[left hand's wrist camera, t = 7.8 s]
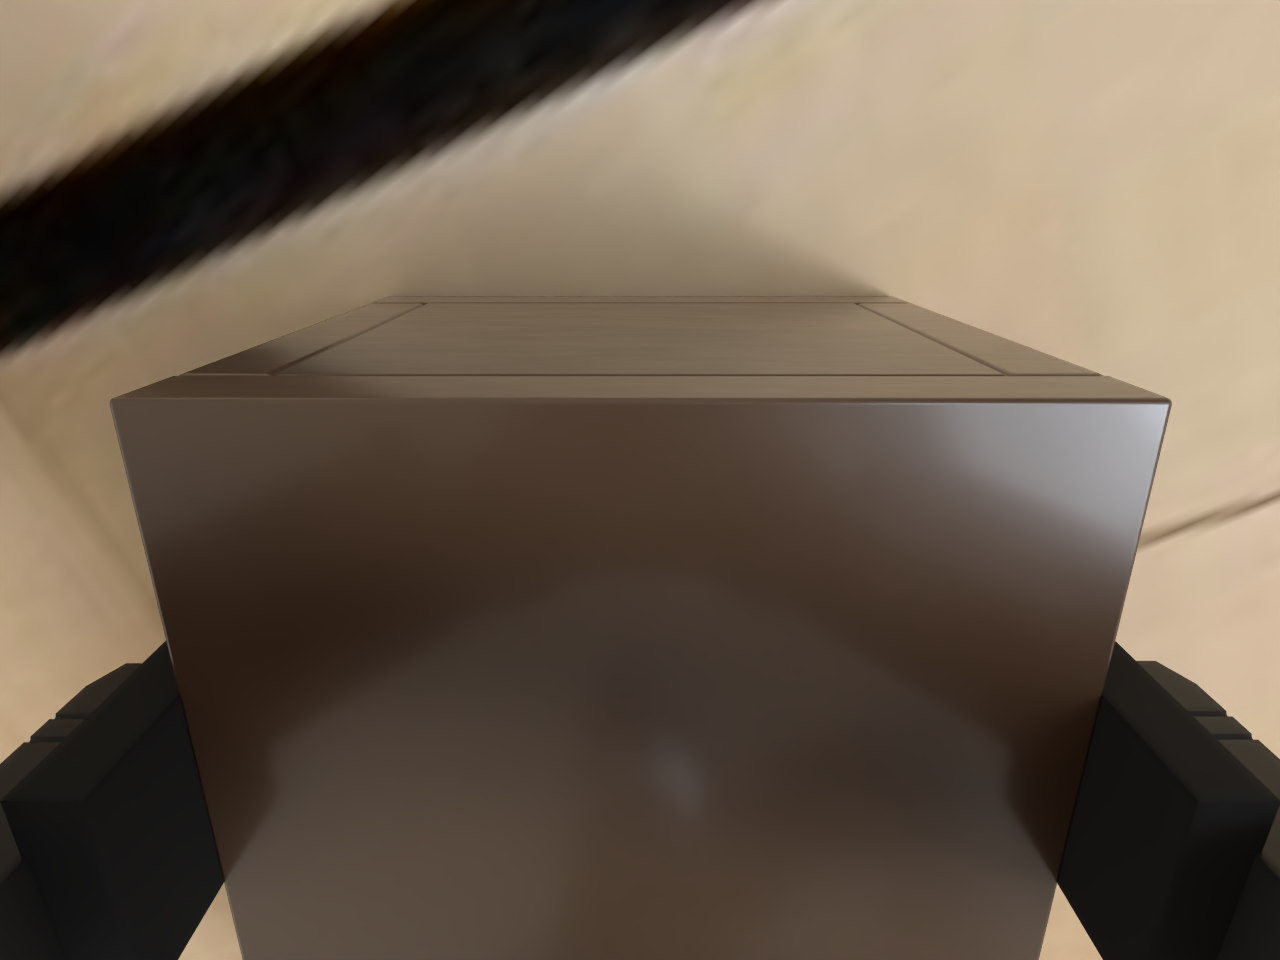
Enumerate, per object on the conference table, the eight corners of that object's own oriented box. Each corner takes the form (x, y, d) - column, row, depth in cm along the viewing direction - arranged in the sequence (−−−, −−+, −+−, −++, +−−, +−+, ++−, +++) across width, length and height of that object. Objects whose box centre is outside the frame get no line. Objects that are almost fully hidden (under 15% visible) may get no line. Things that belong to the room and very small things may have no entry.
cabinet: (818, 998, 22) (920, 1458, 14) (462, 998, 22) (360, 1456, 14) (895, 296, 15) (1175, 398, 7) (385, 296, 15) (105, 398, 7)
